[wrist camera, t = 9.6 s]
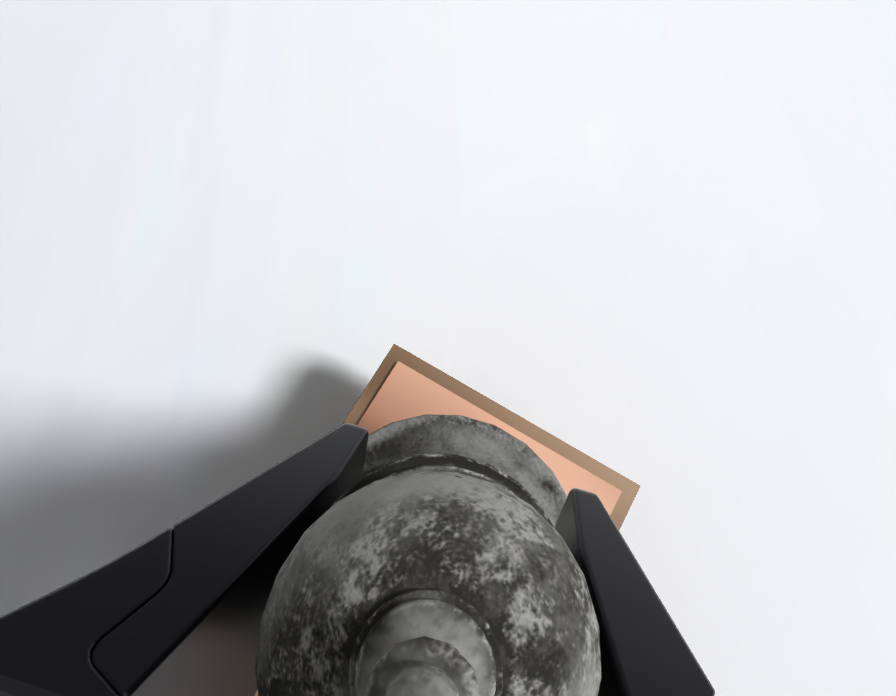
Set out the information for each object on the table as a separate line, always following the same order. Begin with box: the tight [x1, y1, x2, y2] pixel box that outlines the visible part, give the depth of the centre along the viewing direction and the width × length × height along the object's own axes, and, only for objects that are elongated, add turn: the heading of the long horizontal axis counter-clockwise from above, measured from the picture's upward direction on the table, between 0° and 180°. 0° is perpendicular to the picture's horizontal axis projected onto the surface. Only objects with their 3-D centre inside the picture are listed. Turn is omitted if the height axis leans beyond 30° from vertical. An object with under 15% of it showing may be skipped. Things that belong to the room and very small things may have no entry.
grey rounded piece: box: [255, 414, 601, 696], centre depth 9 cm, size 6×6×12 cm
